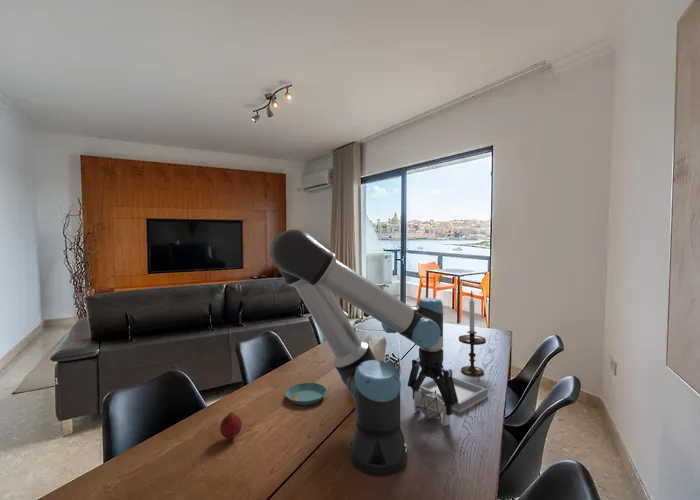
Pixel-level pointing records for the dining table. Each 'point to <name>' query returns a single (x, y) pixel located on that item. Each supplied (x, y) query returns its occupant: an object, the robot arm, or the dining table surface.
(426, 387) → the tray
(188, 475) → the dining table surface
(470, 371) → the candlestick
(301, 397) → the saucer
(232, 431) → the onion
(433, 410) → the game die
